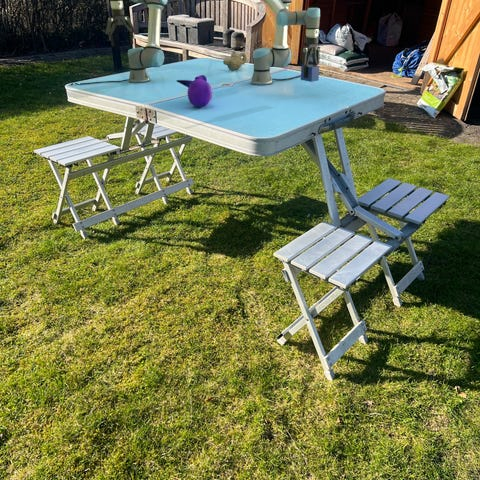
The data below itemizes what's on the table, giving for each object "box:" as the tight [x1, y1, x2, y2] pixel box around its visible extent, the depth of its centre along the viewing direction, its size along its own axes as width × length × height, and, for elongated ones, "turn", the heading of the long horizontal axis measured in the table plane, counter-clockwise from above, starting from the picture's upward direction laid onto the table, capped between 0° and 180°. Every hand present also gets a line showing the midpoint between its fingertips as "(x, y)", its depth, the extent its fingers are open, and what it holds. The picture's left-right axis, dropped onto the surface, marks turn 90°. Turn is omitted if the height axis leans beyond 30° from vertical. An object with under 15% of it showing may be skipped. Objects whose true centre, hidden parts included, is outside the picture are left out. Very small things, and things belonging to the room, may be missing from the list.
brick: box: [300, 63, 320, 83], centre depth 281 cm, size 7×9×8 cm
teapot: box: [222, 50, 247, 72], centre depth 367 cm, size 21×12×15 cm, turn 120°
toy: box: [176, 74, 214, 108], centre depth 269 cm, size 16×18×27 cm
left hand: (122, 45), depth 292 cm, fingers open, 13 cm apart
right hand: (309, 76), depth 282 cm, fingers closed on brick, 7 cm apart
